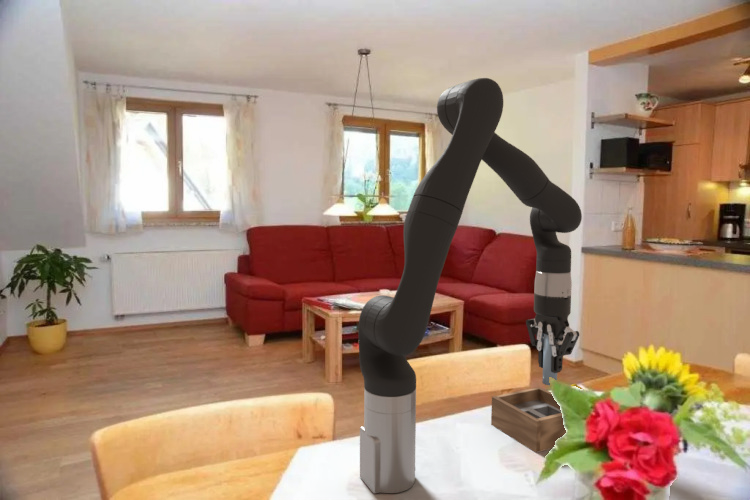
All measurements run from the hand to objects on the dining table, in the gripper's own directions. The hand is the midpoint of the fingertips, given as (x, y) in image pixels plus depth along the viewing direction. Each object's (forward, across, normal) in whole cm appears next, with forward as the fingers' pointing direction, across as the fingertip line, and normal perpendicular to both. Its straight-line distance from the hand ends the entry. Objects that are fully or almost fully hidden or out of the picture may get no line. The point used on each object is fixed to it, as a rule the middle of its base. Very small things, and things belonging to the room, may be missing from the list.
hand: (549, 369), depth 110 cm
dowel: (+3, 0, 0) cm, 3 cm away
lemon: (+14, -2, +10) cm, 17 cm away
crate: (+14, 0, -3) cm, 14 cm away
